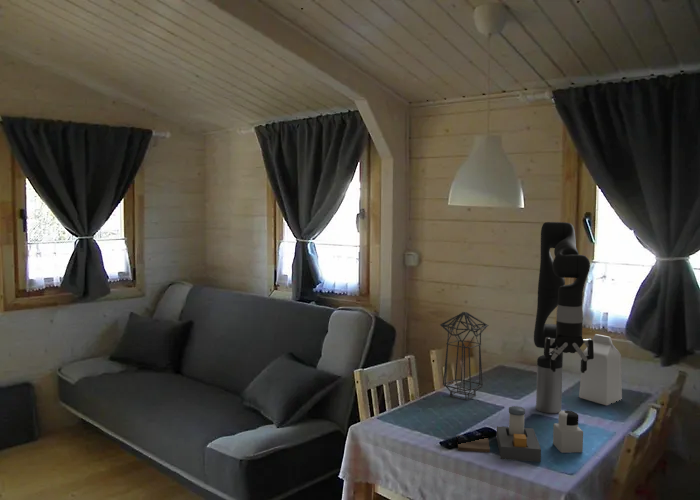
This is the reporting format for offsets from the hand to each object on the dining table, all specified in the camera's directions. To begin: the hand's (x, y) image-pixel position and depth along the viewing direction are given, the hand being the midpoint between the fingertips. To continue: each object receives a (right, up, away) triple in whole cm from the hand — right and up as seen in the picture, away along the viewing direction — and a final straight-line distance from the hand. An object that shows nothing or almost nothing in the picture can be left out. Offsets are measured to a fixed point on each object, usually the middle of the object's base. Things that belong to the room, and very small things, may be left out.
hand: (567, 371), depth 183 cm
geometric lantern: (-20, -23, +63) cm, 70 cm away
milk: (+35, -23, +59) cm, 73 cm away
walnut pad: (-26, -27, +13) cm, 40 cm away
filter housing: (-13, -27, +10) cm, 31 cm away
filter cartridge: (-12, -27, +13) cm, 32 cm away
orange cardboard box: (-14, -25, +4) cm, 29 cm away
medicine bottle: (+4, -27, +10) cm, 29 cm away
